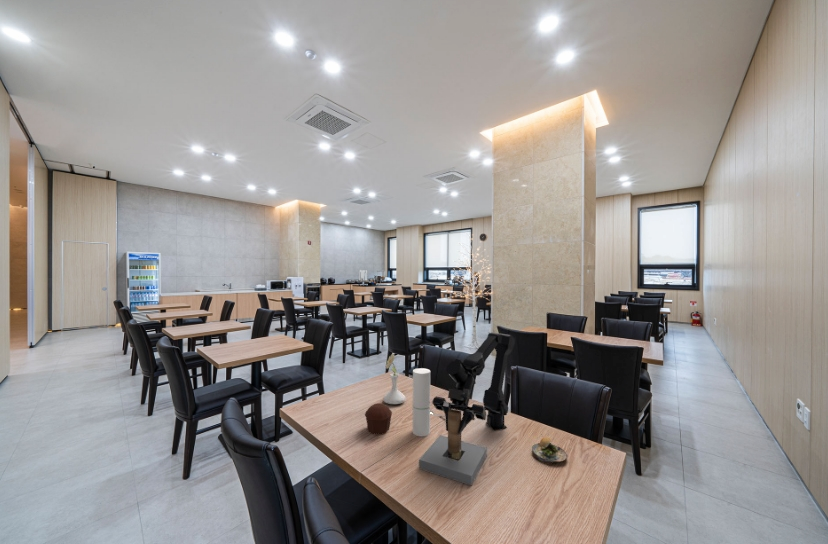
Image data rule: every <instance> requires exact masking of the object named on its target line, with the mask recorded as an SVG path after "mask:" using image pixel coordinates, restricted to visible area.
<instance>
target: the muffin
mask: <svg viewBox="0 0 828 544" xmlns="http://www.w3.org/2000/svg"><path fill="white" fill-rule="evenodd" d="M392 414H393V411H392V410H391V409H390V408H389V407H388V405H387V404H384V403H381V402H379V403H374V404H372V405H371V406H369V407H368V408H367V410H366V411H365V413H364V416H365V420H366V426H367V430H368V431H367V432H368V433H369V434H372V435H378V436H379V435H383V434H387V432H388V431H389V430H390V426H391V420H392Z"/></svg>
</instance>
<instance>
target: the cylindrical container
mask: <svg viewBox="0 0 828 544" xmlns="http://www.w3.org/2000/svg"><path fill="white" fill-rule="evenodd" d="M430 410H431V370H430V369H428V368H423V367H421V368H415V369H413V370H412V435H414V436H417V437H427V436H429V435H430V434H431V415H430Z"/></svg>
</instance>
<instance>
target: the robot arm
mask: <svg viewBox="0 0 828 544" xmlns="http://www.w3.org/2000/svg"><path fill="white" fill-rule="evenodd" d="M515 344H516V339H515V338H514V336H513V335H512V334H505V333H500V332H499V333H497V332H489V333H488V334H487V337H486V338H485V339H484V341H483V342H482V343H481V345H480V346H479V347H478V348H477V350H476V351H475V352H474V353H471V354H468V355H467V356H466V357H465V358H464V359H463V360H461V359H460V358H455V360H453V361H451V362H449V364H447V365H446V367H445V369H446V370H445V371H446V373H447V374H448V375H449V377H451V379H452V380H453V381H454V382H455V383H456V386H454V388H448V395H447V398H448V399H449V400H450V402H448V401H447V400H446V399H445V397H441V396H435V397H433V398H432V402H431V404H432V405H433V406H434V408H435V409H436V410H438V411H440V412H441V411H442V412H443V413H444V415H445V431H446V432H448V411H449V410H450V409H453V410H458V411H461V412H462V416H461V423H460V427H459V431H458V433H459V434H461V435H462V432H463V431H464V429H465V428H466V427H467V425H469V423H470V422H471V421H475V420H476V419H477V420H482V421H486V422H485V425H486V426H488V427H489V428H490V429H491V430H493V431H496V430H503V429H506V428H508V427H507V425H505V416H507V415H508V412H509V406H508V405H507V404H506V402H505V399H506V397H505V394H504V391H503V387H504V386H503V385H504V381H505V373H506V368H507V362H508V356H509V355H510V354H511V352H513V349H514V347H515ZM494 350H495V352H496V353H495V358H494V365H493V371H492V375H491V380H490V381H491V382H490V386H489V387H488V388H487V389H485V390H484V392H483V393H484V395H483V398H482V404H483V405H481V404H476V403H473V404H472V405H471V406H469V402H470V400H471V397H472V396H471V395H472V391H473V390H472V389H473V385H476V380H475V378H474V376H478V377H479V376H481V374H482V373H483V371H484V370H485V368H486V366H485V365H486V364H485V363H486V361H487V359H488V357H490V355H491V354H492V353H493V351H494ZM473 375H474V376H473Z"/></svg>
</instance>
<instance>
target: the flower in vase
mask: <svg viewBox="0 0 828 544" xmlns="http://www.w3.org/2000/svg"><path fill="white" fill-rule="evenodd" d="M394 360H395V354H394V353H392V354H391V355H389V357H388V360H387V361H386V364H385V369H387V370H388V369H389V368H390V367H392V368H391V371H392V373H389V377H390V378H391V384H392V385H391V390H389V391H388V392H387V393H385V395H383V398H382V400H383V402H384V403H386V404H387V405H388V404H389V405H400V404H402V403H404V402H405V401H406V395H404V394H403V392H401V391H400V390H398V378H399V376H400V373H397V368H396V366H395V364H394Z"/></svg>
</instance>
